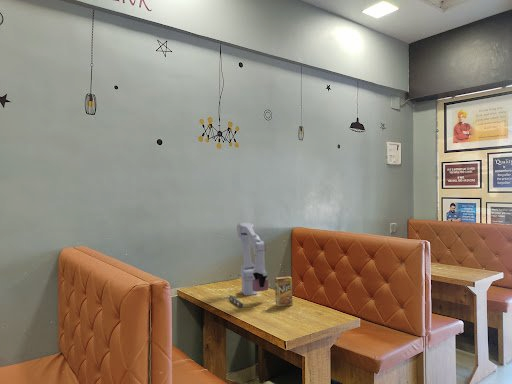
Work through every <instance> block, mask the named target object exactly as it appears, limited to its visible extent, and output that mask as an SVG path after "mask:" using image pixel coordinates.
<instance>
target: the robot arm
mask: <svg viewBox="0 0 512 384" xmlns="http://www.w3.org/2000/svg"><path fill="white" fill-rule="evenodd" d="M236 231H237V237H238V238H240V242H241V243H240V244H241V249H242V258H243V264H242V265H241V266H240V271H239V272H240V277H241V279H242V280H241V291H240V293H241V294H243V295H244V296H251V295H258V294H259V293H258V291H257V292H255V291H253V285H252V280H254V279H259V284H260V287H264V284H265V280H266V279H268V272H267V271H266V266H265V265H266V264H265V263H266V262H265V251H266V249H267V244H266V242H265V241H264V240H261V238H260V237H259V235H258V234H256V232H255V225H254V224H253V222H244V223H237V226H236ZM249 241H250V242H249ZM250 243H251V245H252V250H253V255H254V263H253V261H252V255H251V248H250V247H251V246H250Z"/></svg>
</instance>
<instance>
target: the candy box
mask: <svg viewBox="0 0 512 384" xmlns="http://www.w3.org/2000/svg"><path fill="white" fill-rule="evenodd" d="M274 289H275V290H274V291H275V292H274V293H275V294H274V295H275V296H274V297H275V305H276V307H285V306H293V301H294V299H293V278H292V277H291V276H289V275H288V276H279V277H274Z"/></svg>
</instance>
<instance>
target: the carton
mask: <svg viewBox="0 0 512 384" xmlns="http://www.w3.org/2000/svg"><path fill="white" fill-rule="evenodd" d="M252 285H253V291H255V292H257V293H258V292H262V291H263V292H264V291H268V290H269V279H268V278H266V280H265V284H264V287H260V284H259V279H254V280H252Z"/></svg>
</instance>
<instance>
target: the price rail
mask: <svg viewBox="0 0 512 384" xmlns="http://www.w3.org/2000/svg"><path fill="white" fill-rule="evenodd" d="M229 301H231V302H232V303H234V304H235V305H236V306H238V308H240V309H244V303H243V302H241V301H240V300H239V299H237V298H235V296H233V295H229Z"/></svg>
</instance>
